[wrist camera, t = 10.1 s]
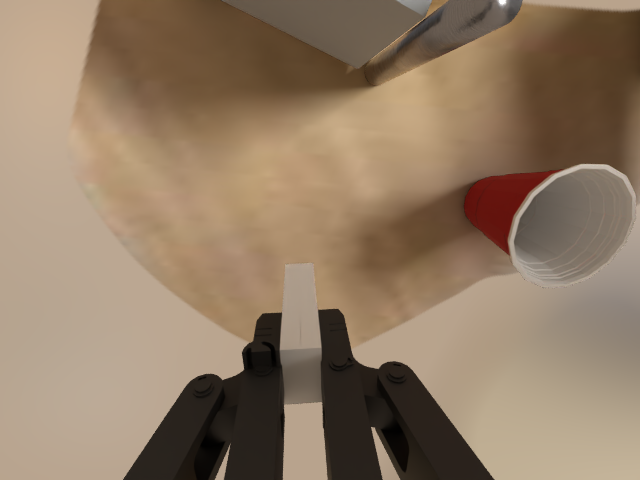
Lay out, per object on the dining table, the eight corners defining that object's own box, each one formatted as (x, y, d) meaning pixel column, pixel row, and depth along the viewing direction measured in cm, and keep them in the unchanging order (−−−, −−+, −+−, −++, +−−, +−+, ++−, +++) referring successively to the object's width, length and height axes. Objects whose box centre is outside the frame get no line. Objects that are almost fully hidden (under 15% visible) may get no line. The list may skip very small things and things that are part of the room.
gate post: (388, 57, 32) (526, -35, 15) (388, 85, 33) (519, 27, 16) (364, 58, 31) (477, -35, 14) (364, 85, 32) (472, 27, 15)
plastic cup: (422, 216, 37) (489, 250, 26) (484, 134, 35) (586, 133, 24) (485, 264, 40) (570, 313, 29) (546, 191, 39) (661, 213, 27)
